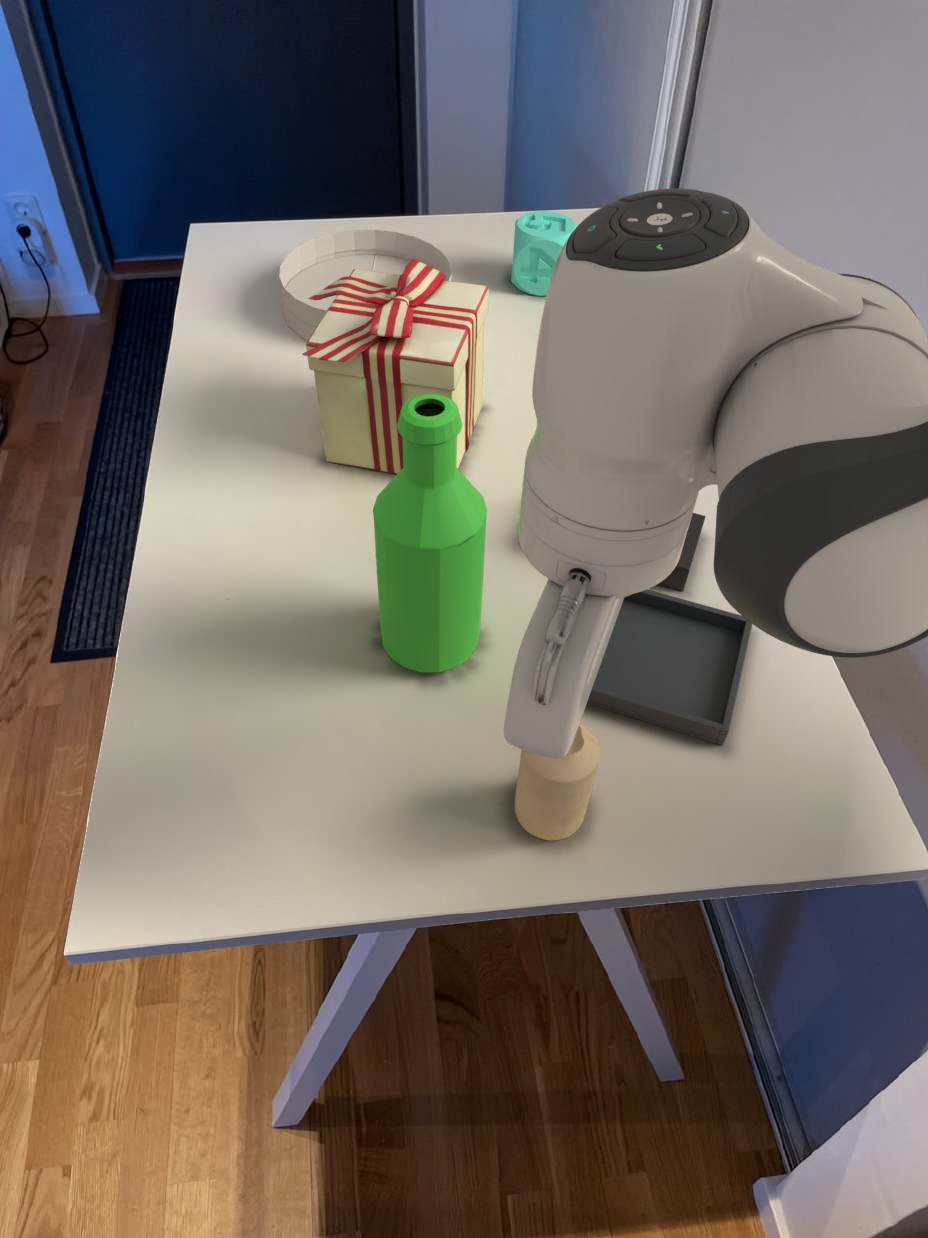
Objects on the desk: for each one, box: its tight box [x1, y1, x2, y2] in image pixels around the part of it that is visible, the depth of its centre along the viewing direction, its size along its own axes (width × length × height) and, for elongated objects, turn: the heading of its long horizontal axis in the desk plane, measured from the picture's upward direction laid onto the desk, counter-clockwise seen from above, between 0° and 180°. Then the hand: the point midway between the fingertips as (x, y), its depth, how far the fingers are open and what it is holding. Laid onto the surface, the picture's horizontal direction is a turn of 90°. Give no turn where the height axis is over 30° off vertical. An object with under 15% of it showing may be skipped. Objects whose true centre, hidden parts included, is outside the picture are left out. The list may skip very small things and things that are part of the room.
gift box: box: [301, 259, 490, 474], centre depth 96 cm, size 17×18×17 cm
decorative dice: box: [510, 210, 578, 297], centre depth 122 cm, size 8×8×8 cm
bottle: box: [372, 394, 488, 673], centre depth 73 cm, size 9×9×25 cm
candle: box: [514, 722, 601, 841], centre depth 68 cm, size 6×6×10 cm
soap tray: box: [586, 589, 753, 746], centre depth 81 cm, size 13×13×2 cm
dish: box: [278, 229, 452, 341], centre depth 118 cm, size 22×22×5 cm
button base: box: [656, 512, 706, 592], centre depth 89 cm, size 14×8×5 cm, turn 69°
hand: (572, 676), depth 59 cm, fingers open, 8 cm apart
